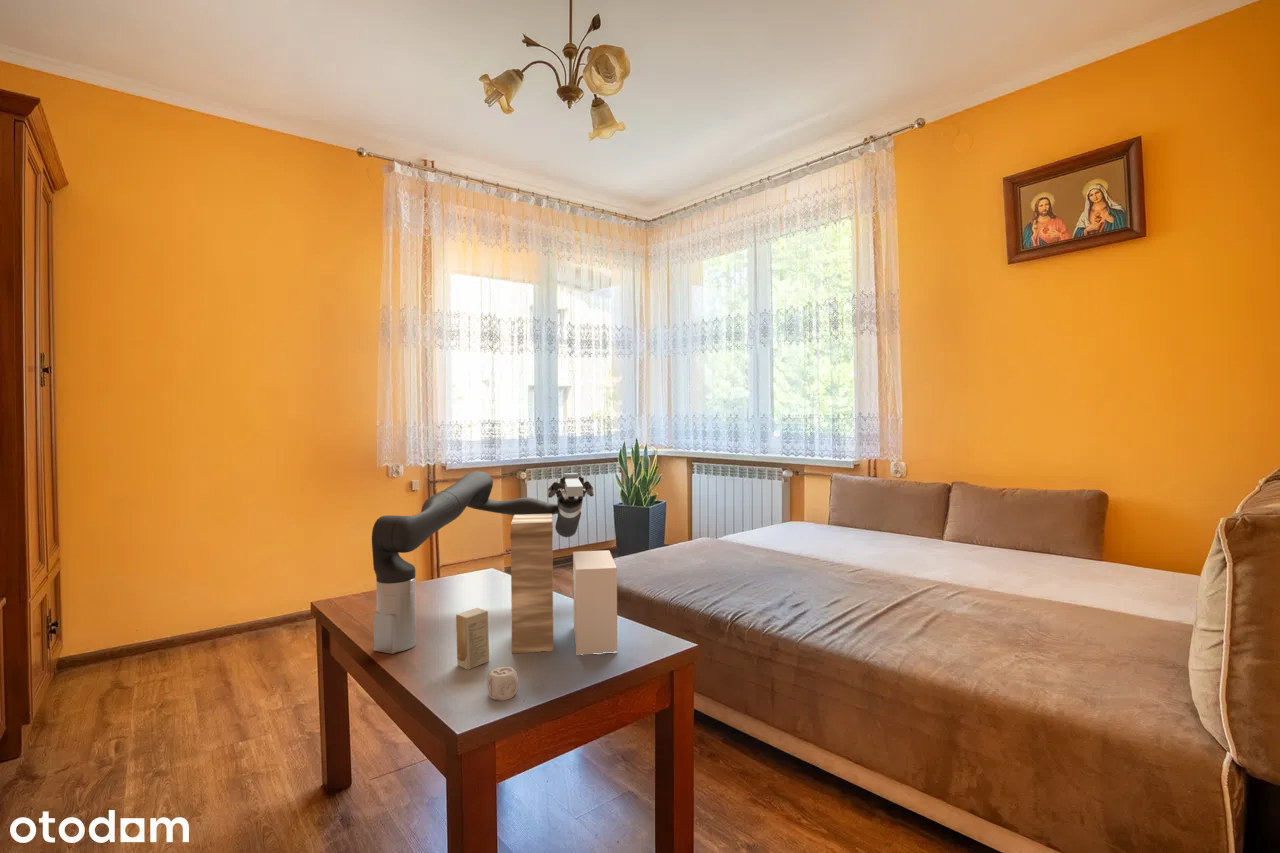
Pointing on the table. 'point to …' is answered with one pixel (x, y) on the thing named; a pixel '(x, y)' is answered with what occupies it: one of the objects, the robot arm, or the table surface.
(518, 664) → the table surface
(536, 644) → the tall brown wood-grain block
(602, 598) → the block
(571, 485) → the pale blue-grey block
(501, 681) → the die
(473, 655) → the skincare box
